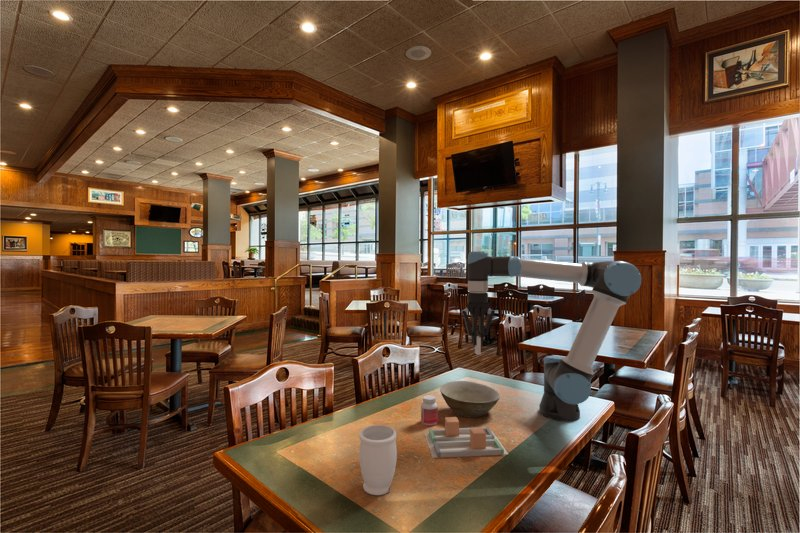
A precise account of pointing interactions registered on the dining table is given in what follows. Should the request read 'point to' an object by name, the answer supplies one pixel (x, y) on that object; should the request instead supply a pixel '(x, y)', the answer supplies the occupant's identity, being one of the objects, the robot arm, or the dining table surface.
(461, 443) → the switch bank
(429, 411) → the pill bottle
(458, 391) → the bowl
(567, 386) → the robot arm
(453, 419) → the tab
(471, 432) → the tab
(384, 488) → the jar
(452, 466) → the dining table surface
